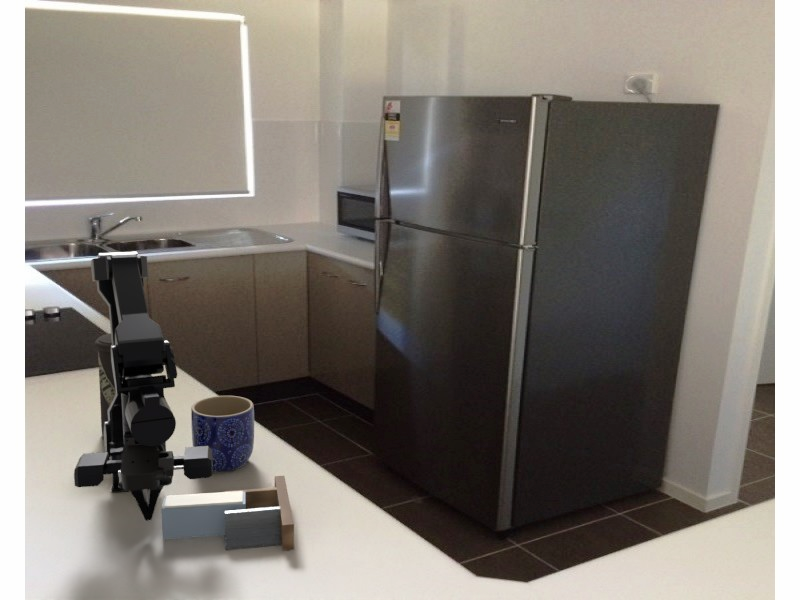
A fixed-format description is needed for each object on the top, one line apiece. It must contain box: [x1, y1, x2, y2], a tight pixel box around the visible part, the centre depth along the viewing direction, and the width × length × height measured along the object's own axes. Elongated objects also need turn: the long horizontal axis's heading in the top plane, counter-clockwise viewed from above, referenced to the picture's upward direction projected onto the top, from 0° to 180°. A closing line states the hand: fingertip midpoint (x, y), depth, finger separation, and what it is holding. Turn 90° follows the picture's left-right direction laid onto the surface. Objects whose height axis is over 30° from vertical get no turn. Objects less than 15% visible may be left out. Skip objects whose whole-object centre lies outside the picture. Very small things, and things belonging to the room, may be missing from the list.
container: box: [94, 332, 116, 438], centre depth 148 cm, size 9×9×20 cm
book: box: [160, 490, 246, 540], centre depth 114 cm, size 12×4×5 cm, turn 101°
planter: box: [190, 395, 255, 473], centre depth 136 cm, size 11×11×11 cm
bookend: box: [224, 506, 282, 551], centre depth 111 cm, size 8×3×4 cm, turn 103°
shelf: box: [224, 475, 295, 551], centre depth 116 cm, size 10×16×4 cm, turn 13°
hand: (148, 519), depth 112 cm, fingers closed
